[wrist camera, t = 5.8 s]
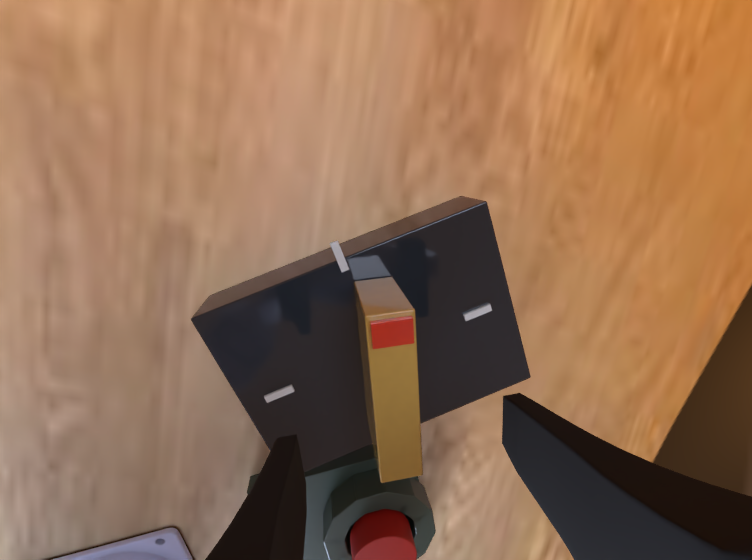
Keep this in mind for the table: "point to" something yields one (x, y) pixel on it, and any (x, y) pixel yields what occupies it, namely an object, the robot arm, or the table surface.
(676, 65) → the table surface
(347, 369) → the block
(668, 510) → the robot arm
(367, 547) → the button
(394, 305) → the gold rectangular bar
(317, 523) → the button box
